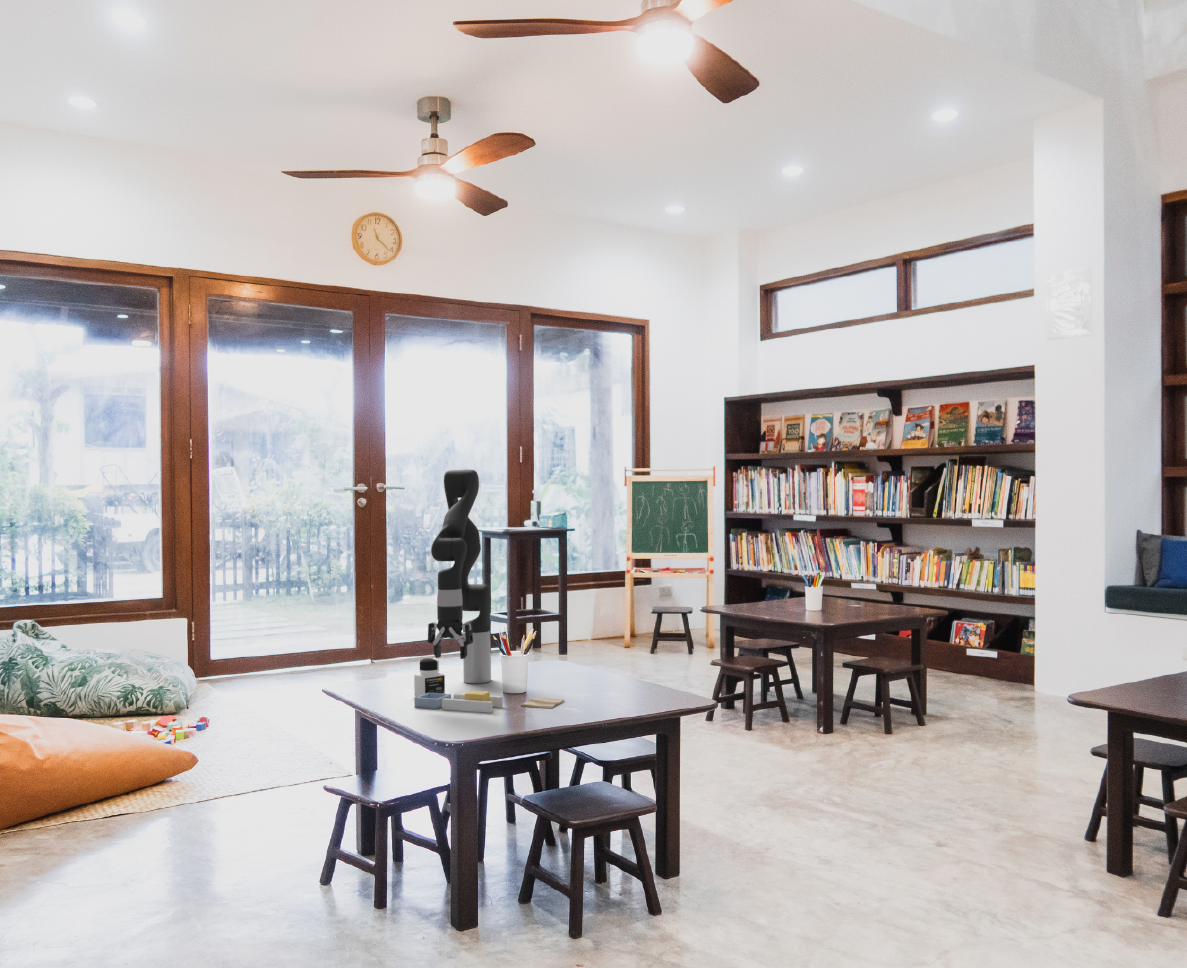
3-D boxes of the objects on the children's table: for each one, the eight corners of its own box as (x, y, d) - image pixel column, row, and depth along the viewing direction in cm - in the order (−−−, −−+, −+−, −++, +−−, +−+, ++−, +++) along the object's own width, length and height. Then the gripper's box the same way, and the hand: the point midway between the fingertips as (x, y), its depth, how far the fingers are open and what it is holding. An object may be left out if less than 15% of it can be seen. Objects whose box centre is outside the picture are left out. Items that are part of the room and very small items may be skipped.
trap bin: (428, 701, 290) (428, 692, 290) (451, 703, 287) (450, 694, 287) (414, 707, 282) (414, 698, 282) (438, 709, 279) (437, 699, 279)
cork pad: (534, 699, 290) (534, 697, 290) (564, 701, 287) (564, 699, 287) (520, 706, 281) (520, 704, 281) (551, 708, 278) (551, 706, 278)
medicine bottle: (425, 700, 292) (424, 661, 293) (414, 696, 298) (413, 658, 298) (445, 696, 297) (444, 658, 297) (433, 693, 302) (433, 656, 303)
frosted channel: (442, 709, 279) (442, 699, 279) (455, 703, 287) (455, 693, 287) (490, 712, 273) (490, 702, 273) (503, 706, 281) (503, 696, 281)
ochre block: (471, 706, 282) (471, 690, 283) (489, 707, 280) (489, 691, 281) (464, 709, 278) (464, 693, 278) (482, 711, 276) (482, 694, 276)
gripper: (476, 603, 284) (477, 657, 283) (435, 602, 289) (436, 655, 288) (464, 606, 277) (465, 661, 276) (422, 604, 282) (423, 659, 281)
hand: (450, 658), depth 282 cm, fingers open, 8 cm apart
